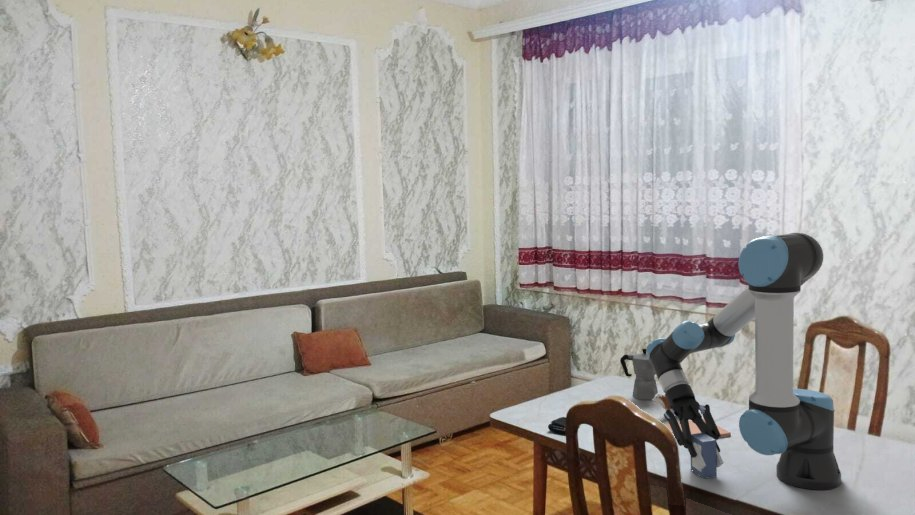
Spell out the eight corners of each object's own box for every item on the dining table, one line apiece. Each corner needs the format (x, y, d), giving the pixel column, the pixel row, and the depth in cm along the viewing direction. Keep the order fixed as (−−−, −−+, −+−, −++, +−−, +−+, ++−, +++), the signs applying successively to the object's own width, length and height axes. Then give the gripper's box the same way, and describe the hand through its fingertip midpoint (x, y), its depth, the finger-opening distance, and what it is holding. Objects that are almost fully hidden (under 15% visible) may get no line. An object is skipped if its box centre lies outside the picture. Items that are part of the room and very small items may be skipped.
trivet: (730, 435, 214) (730, 432, 214) (684, 442, 210) (684, 439, 210) (704, 421, 228) (704, 418, 228) (660, 427, 224) (660, 424, 224)
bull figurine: (650, 415, 236) (650, 392, 235) (684, 410, 240) (684, 387, 239) (658, 419, 232) (657, 395, 231) (692, 413, 236) (692, 390, 235)
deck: (716, 476, 186) (716, 439, 185) (703, 478, 185) (702, 442, 184) (703, 467, 192) (703, 432, 191) (690, 469, 191) (690, 434, 190)
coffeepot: (663, 393, 260) (662, 345, 258) (664, 400, 251) (663, 351, 249) (621, 391, 264) (620, 345, 262) (620, 399, 255) (619, 351, 253)
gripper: (699, 392, 204) (734, 467, 189) (644, 399, 200) (676, 477, 185) (709, 379, 198) (746, 456, 184) (653, 386, 194) (687, 465, 180)
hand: (711, 466), depth 185 cm, fingers open, 4 cm apart
